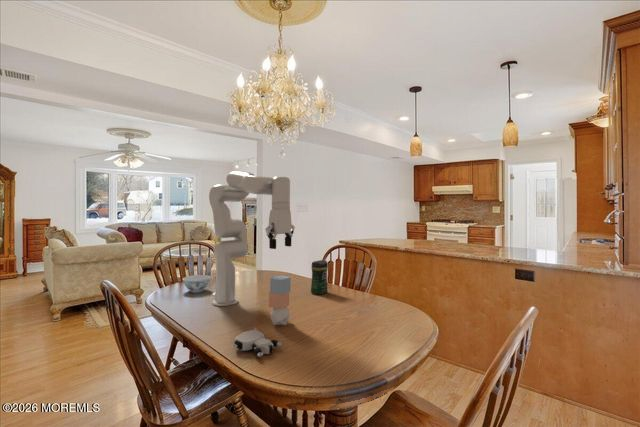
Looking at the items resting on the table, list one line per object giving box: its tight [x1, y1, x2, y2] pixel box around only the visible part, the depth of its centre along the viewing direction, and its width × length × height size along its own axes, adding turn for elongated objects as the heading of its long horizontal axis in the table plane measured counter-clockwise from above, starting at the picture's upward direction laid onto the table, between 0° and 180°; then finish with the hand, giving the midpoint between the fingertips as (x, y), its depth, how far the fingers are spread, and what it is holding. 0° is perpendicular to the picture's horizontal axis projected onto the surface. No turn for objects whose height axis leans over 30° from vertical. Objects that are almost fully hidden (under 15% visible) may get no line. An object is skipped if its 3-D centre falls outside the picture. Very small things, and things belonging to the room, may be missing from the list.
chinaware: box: [182, 274, 211, 294], centre depth 183 cm, size 15×15×8 cm
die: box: [269, 306, 291, 326], centre depth 134 cm, size 8×9×10 cm
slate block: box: [269, 275, 292, 295], centre depth 133 cm, size 6×6×6 cm
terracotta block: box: [268, 291, 290, 309], centre depth 133 cm, size 6×6×6 cm
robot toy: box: [228, 328, 283, 357], centre depth 110 cm, size 12×4×15 cm
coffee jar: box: [310, 259, 329, 295], centre depth 182 cm, size 10×8×19 cm
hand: (280, 247), depth 133 cm, fingers open, 9 cm apart
